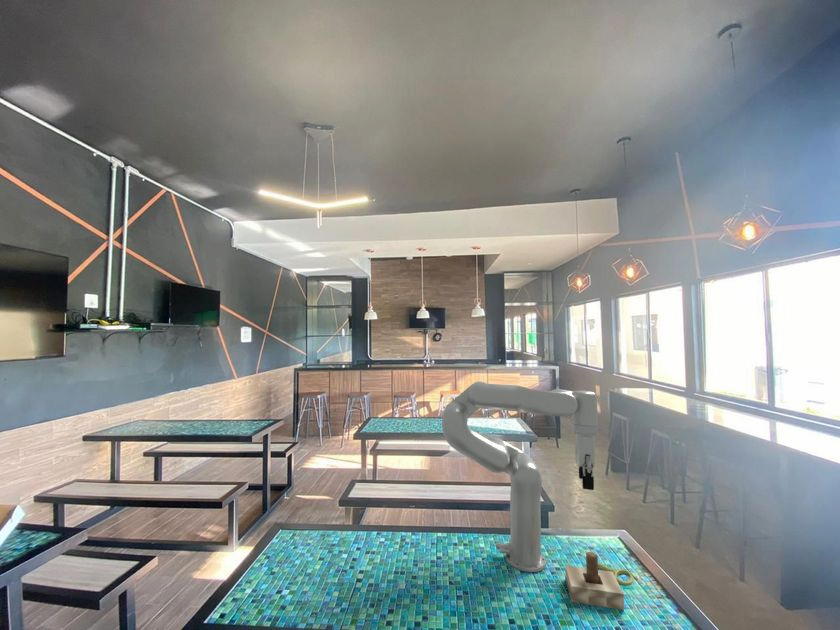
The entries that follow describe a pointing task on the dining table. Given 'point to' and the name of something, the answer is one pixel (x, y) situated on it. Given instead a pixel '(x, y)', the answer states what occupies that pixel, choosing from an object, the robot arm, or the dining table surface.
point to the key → (618, 574)
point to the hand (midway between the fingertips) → (586, 483)
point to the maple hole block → (594, 588)
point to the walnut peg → (592, 567)
